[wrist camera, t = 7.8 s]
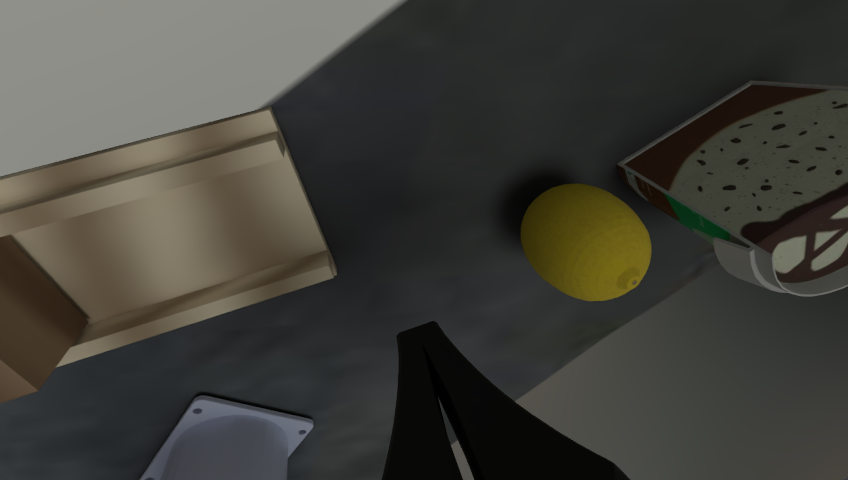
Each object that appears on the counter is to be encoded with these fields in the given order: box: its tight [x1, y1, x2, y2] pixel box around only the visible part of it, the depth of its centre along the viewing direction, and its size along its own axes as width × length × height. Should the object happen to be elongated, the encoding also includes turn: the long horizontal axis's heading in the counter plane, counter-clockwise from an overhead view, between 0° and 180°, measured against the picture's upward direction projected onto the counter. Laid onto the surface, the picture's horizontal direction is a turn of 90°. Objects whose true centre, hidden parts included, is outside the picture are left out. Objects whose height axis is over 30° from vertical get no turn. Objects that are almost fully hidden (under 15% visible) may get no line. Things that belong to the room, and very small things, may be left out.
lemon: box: [521, 184, 651, 301], centre depth 20 cm, size 6×6×8 cm
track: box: [0, 106, 337, 367], centre depth 16 cm, size 18×9×5 cm, turn 102°
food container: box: [617, 80, 848, 296], centre depth 20 cm, size 12×6×10 cm, turn 119°
